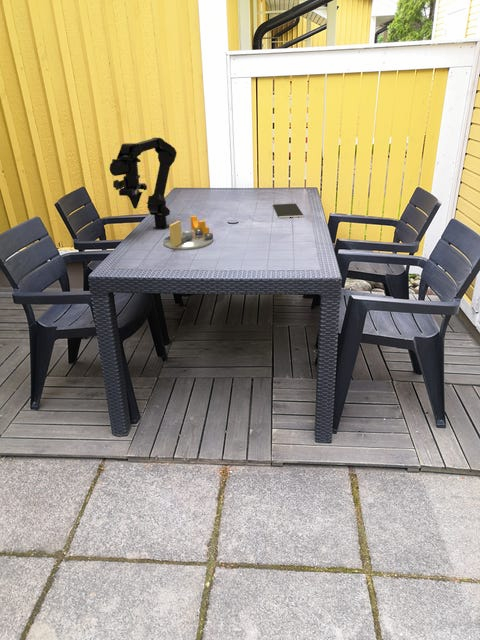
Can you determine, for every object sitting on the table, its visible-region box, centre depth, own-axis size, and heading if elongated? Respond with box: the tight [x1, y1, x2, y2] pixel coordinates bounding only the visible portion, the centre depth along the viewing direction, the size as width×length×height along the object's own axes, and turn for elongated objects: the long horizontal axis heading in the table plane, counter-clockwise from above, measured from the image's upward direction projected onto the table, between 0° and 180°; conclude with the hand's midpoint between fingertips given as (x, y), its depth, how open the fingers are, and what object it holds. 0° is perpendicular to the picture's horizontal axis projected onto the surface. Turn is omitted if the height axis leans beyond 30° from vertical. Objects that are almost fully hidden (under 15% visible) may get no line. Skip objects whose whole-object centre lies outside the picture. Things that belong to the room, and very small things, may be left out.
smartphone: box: [272, 203, 305, 220], centre depth 257 cm, size 13×27×2 cm, turn 3°
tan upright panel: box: [168, 220, 193, 247], centre depth 207 cm, size 15×4×10 cm, turn 156°
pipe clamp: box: [190, 215, 210, 234], centre depth 228 cm, size 12×4×6 cm, turn 27°
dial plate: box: [162, 228, 214, 251], centre depth 214 cm, size 22×22×3 cm
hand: (135, 208), depth 220 cm, fingers closed
